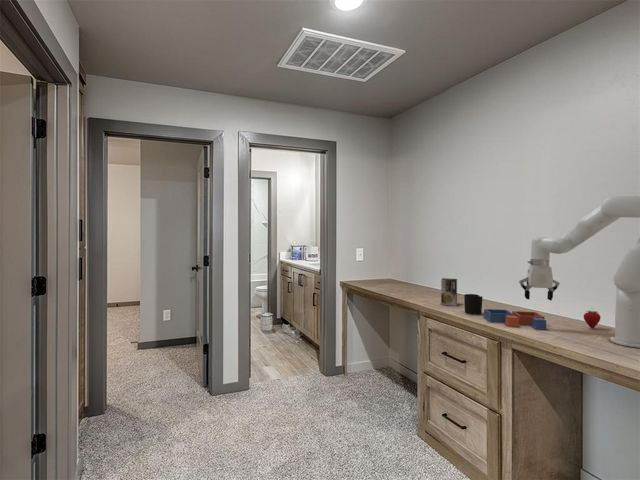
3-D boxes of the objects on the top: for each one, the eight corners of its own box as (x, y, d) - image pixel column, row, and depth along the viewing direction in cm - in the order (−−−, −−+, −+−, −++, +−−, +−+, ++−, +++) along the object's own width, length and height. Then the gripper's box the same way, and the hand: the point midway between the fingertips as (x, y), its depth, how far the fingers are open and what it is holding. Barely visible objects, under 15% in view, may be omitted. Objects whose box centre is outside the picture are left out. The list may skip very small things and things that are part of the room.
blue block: (542, 327, 177) (542, 318, 177) (546, 329, 173) (546, 320, 173) (531, 327, 178) (532, 317, 178) (535, 329, 174) (535, 319, 174)
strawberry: (579, 327, 178) (580, 306, 178) (591, 326, 180) (592, 305, 180) (591, 330, 172) (592, 309, 172) (604, 329, 174) (604, 308, 174)
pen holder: (483, 312, 209) (484, 295, 209) (480, 315, 201) (480, 297, 201) (466, 310, 215) (466, 293, 214) (462, 313, 207) (462, 295, 207)
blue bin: (506, 318, 196) (506, 309, 196) (513, 323, 185) (513, 314, 185) (484, 317, 198) (484, 308, 198) (489, 322, 187) (490, 313, 187)
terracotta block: (515, 324, 182) (515, 315, 182) (518, 327, 178) (518, 317, 178) (505, 324, 183) (505, 315, 183) (508, 326, 179) (508, 317, 178)
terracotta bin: (535, 320, 191) (535, 311, 191) (544, 326, 180) (544, 316, 180) (512, 319, 193) (512, 311, 193) (519, 324, 182) (520, 315, 182)
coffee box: (457, 304, 233) (457, 278, 233) (456, 306, 227) (456, 279, 227) (442, 303, 237) (442, 277, 237) (440, 304, 231) (441, 279, 231)
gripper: (523, 263, 173) (521, 300, 173) (563, 264, 170) (562, 301, 170) (517, 261, 180) (516, 297, 181) (556, 263, 177) (554, 298, 178)
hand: (538, 299), depth 176 cm, fingers open, 9 cm apart
